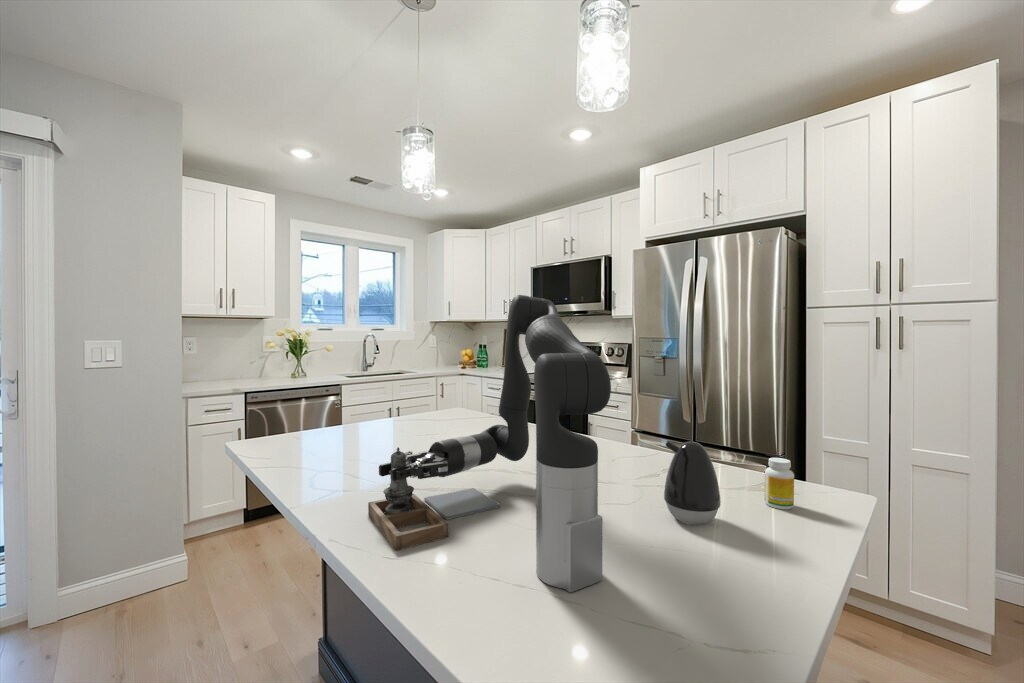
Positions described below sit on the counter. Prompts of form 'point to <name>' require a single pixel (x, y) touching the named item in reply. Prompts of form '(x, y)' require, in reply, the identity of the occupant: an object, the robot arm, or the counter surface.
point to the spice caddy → (408, 523)
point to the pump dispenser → (691, 485)
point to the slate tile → (461, 503)
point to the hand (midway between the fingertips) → (386, 473)
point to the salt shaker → (398, 488)
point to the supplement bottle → (779, 484)
